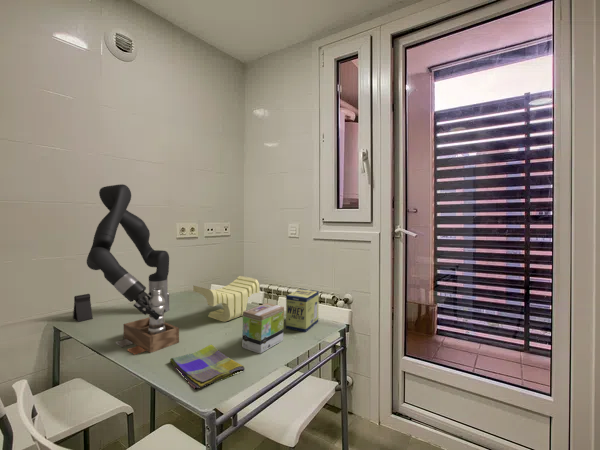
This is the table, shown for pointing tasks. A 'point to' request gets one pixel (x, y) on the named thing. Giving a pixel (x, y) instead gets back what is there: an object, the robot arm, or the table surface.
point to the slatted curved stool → (230, 297)
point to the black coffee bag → (82, 308)
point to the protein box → (302, 309)
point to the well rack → (147, 337)
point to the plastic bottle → (158, 305)
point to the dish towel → (206, 366)
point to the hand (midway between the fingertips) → (161, 315)
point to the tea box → (262, 327)
